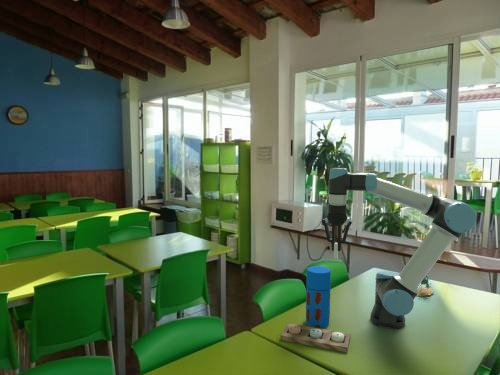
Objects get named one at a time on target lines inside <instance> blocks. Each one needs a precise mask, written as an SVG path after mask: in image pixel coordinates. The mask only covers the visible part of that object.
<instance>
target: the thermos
mask: <svg viewBox="0 0 500 375" xmlns="http://www.w3.org/2000/svg"><path fill="white" fill-rule="evenodd" d="M331 273H332V272H331V269H330V268H329V267H326V266H320V265H319V266H317V265H315V266H313V265H312V266H310V267H307V268H306V283H305V284H306V285H305V288H306V289H305V290H306V291H305V323H306V325H308V327H314V328H319V329H325V328H326V327H328V326H330V315H331V314H330V313H331V312H330V311H331V279H332V278H331V276H332V274H331Z"/></svg>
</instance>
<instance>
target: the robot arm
mask: <svg viewBox="0 0 500 375" xmlns="http://www.w3.org/2000/svg"><path fill="white" fill-rule="evenodd" d="M348 191H349V192H351V191H353V192H355V191H361V192H367V193H370V194H373V195H375V196H378V197H381V198H383V199H386V200H388V201H389V200H390V201H392V202H394V203H397V204H400V205H403V206H406V207H408V208H412V209H414V210H416V211H419V212H421V214H422V215H424V216H427V217H429V218H431V219H432V221H431V222H430V223H431V229H430V230H429V232H428V233H427V235H426V236H425V238H424V239H423V241H422V242H421V243H420V245H418V248H417V249H416V250H415V251H414V253H413V254H412V256H411V257H410V258H409V260H408V261H407V263H406V264H405V265H404V267H403V268H402V270H401V271H400V273H398V272H394V271H378V272H377V273H376V275H375V294H374V295H375V296H374V305H373V307H372V310H371V312H370V321H371V322H372V323H373V324H374V325H376V326H379V327H381V328H385V329H386V328H387V329H401V328H403V327H405V326H406V317H405V316H406V315H408V314H409V313H411V312H412V310H413V309H414V306H415V305H414V304H415V302H414V300H415V298H416V297H418V296H417V294H418V293H419V292H418V288H419V286H420V285H421V282H422V281H423V279H424V278H425V276H427V275H428V274H429V273H430V271H431V270H432V269H433V267H434V265H435V264H436V263H437V261H438V260H439V259H440V257H441V256H442V255H443V253H444V252H445V250H446V249H447V248H448V247H449V245H450V244H451V242H452V241H455V240H459V239H460V237H461V236H462V234H464V233H466V232H467V233H468V232H469V231H471V230H472V229H473V228H474V226H475V225H476V223H477V215H476V214H477V213H476V212H475V209H474V208H473V207H472V206H471V205H469V204H468V203H466V202H464V201H461V200H457V199H454V198H449V197H442V196H439V195H436V194H432V193H430V194H425V193H421V192H419V191H416V190H415V189H410V188H407V187H406V186H402V185H400V184H397V183H393V182H391V181H388V180H385V179H382V178H379V177H378V176H377V174H376V173H372V172H371V173H370V172H363V171H359V170H358V171H357V170H356V171H354V172H349V171H348V168H347V167H346V168H345V167H332V168H330V170H329V176H328V203H329V204H328V211H327V212H328V213H327V215H326V217H325V218H323V219H322V220H321V223H322V224H323V227H324V231H325V236H326V240H327V242H328V243H331V251H333V259H334V260H339V252H340V251H341V250H342V244H345V243H346V240H347V237H348V233H349V231H350V226H352V224H353V221H352V220H350V219H349V218H348V216H347V205H346V204H347V201H348V200H347V199H348V197H347V196H348ZM328 222H329V223H328ZM329 224H331V232H330V228H329ZM344 224H346V226H345V229H344V233H343V237H342V229H343V228H342V226H343V225H344ZM336 227H337V242H336Z"/></svg>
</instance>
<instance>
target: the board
mask: <svg viewBox="0 0 500 375" xmlns="http://www.w3.org/2000/svg"><path fill="white" fill-rule="evenodd" d="M290 325H298V326H300V327H301V334H300V335H296V334H290V333H289V326H290ZM313 328H315V327H312V326H309V325H308V326H305V325H303V324H302V325H301V324H295V323H287V324H286V326H285V328H284V329H283V331H282V332H281V334H280V340H281V341H285V342H291V343H295V344H300V345H306V346H311V347H317V348H321V349H327V350H333V351H338V352H343V353H348V350H349V346H350V342H351V333H348V332H343V331H339V332H340V333H342V334H344V343H340V342H335V341H331V336H332V333H333V332H338V331H337V330H330V329H326V328H317V329H320V330H321V331H322V339H318V338H313V337H310V329H313Z"/></svg>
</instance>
